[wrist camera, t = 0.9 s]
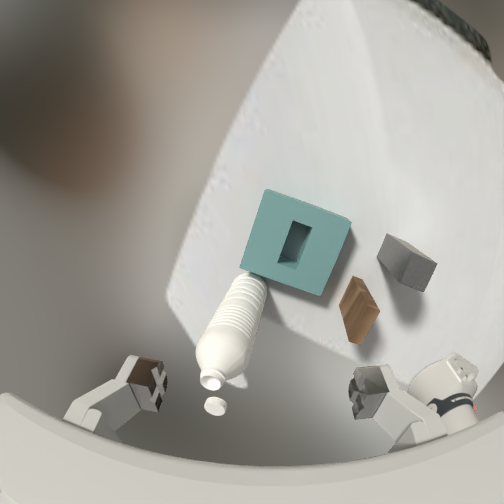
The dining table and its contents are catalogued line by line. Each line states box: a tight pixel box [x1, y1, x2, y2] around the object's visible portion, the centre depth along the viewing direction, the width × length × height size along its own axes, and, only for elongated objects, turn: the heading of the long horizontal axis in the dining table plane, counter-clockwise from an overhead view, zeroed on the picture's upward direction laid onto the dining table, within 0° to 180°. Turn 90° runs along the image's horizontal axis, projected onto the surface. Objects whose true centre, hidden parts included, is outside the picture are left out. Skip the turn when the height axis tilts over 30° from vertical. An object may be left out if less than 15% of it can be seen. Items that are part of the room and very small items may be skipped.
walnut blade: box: [339, 276, 380, 345], centre depth 41 cm, size 2×6×12 cm, turn 161°
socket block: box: [239, 189, 352, 296], centre depth 43 cm, size 14×13×4 cm
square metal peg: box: [377, 234, 437, 292], centre depth 37 cm, size 4×4×12 cm
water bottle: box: [196, 273, 267, 416], centre depth 37 cm, size 9×6×25 cm
